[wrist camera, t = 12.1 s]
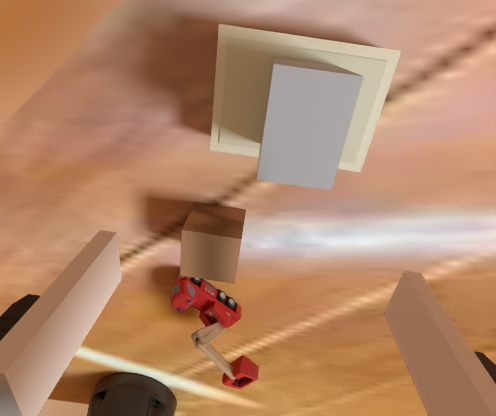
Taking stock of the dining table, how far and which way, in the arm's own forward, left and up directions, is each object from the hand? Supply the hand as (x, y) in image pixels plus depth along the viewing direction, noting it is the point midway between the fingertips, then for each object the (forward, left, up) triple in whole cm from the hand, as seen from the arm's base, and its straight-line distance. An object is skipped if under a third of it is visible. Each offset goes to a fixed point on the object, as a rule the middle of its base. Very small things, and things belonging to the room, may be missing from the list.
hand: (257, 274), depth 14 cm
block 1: (-4, -11, -20) cm, 23 cm away
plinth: (+2, +5, -20) cm, 20 cm away
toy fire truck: (-3, -23, -20) cm, 31 cm away
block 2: (+2, +5, -16) cm, 16 cm away
